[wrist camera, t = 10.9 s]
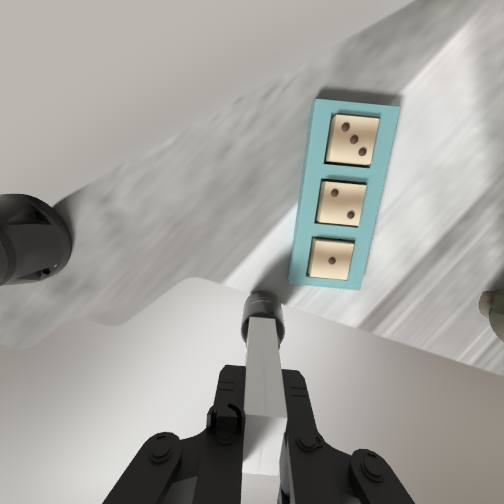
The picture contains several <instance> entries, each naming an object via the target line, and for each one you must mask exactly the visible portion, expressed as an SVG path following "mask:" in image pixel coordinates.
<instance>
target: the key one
mask: <svg viewBox="0 0 504 504" xmlns="http://www.w3.org/2000/svg"><path fill="white" fill-rule="evenodd" d="M353 247H354V244H353V243H351V242H349V241H344V240H333V239H323V238H313V239H312V246H311V252H310V258H309V265H308V271H307V272H308V273H309V275H310V277H320V278H331V279H342V280H347V277H348V272H349V267H350V262H351V257H352V252H353Z"/></svg>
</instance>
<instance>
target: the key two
mask: <svg viewBox="0 0 504 504" xmlns="http://www.w3.org/2000/svg"><path fill="white" fill-rule="evenodd" d="M365 191H366V185H356V184H345V183H335V182H322V184H321V190H320V197H319V203H318V209H317V216H316V220H317V221H318V222H323V223H334V224H345V225H355V226H358V225H359V220H360V215H361V210H362V206H363V201H364V196H365Z"/></svg>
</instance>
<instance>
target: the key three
mask: <svg viewBox="0 0 504 504" xmlns="http://www.w3.org/2000/svg"><path fill="white" fill-rule="evenodd" d="M378 124H379V119H378V118H367V117H357V116H346V115H335V116H334V117H333V118H332V119H331V125H330V132H329V138H328V144H327V151H326V157H325V162H334V163H344V164H355V165H369V164H371V159H372V154H373V149H374V144H375V139H376V134H377V129H378Z"/></svg>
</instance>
